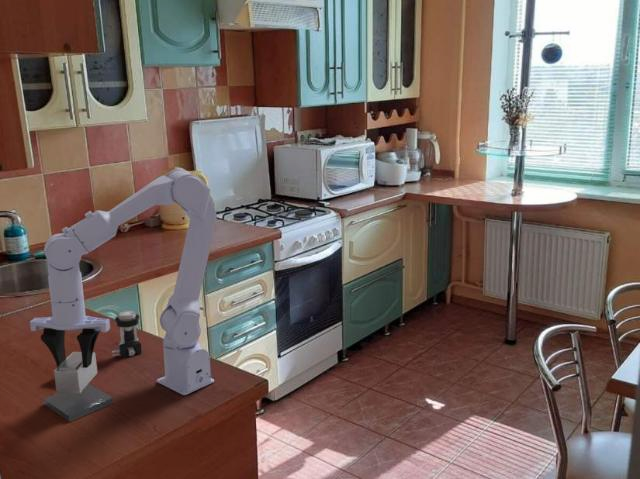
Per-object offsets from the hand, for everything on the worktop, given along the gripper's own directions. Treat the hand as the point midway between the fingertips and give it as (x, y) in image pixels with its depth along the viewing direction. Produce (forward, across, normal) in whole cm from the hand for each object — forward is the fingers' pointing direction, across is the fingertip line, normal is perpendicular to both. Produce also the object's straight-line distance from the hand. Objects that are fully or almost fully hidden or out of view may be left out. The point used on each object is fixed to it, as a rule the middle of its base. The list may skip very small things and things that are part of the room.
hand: (74, 365), depth 116 cm
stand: (+8, 0, 0) cm, 8 cm away
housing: (+4, 0, 0) cm, 4 cm away
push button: (+8, -1, -23) cm, 25 cm away
